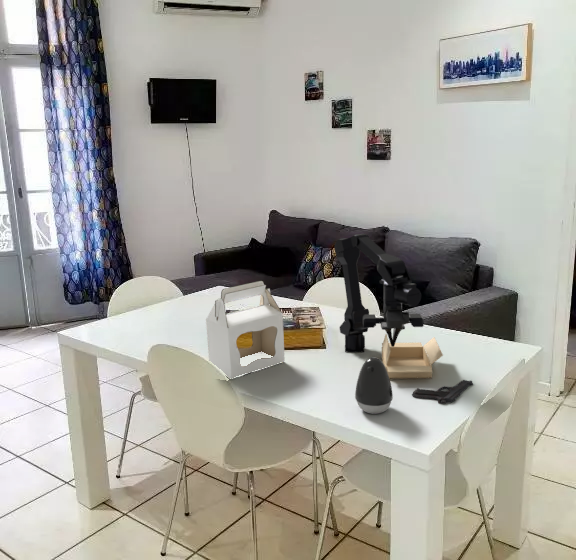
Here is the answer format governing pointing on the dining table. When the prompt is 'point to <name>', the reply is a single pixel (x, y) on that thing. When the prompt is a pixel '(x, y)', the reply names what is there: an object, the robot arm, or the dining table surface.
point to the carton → (408, 362)
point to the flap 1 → (386, 348)
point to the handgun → (443, 392)
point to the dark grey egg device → (373, 387)
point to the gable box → (245, 330)
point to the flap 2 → (433, 350)
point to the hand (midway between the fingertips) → (392, 346)
